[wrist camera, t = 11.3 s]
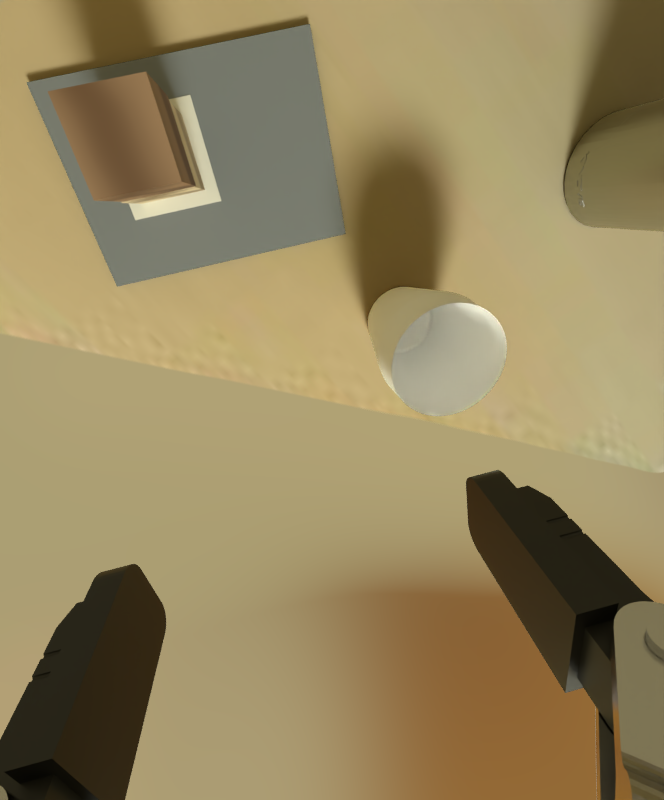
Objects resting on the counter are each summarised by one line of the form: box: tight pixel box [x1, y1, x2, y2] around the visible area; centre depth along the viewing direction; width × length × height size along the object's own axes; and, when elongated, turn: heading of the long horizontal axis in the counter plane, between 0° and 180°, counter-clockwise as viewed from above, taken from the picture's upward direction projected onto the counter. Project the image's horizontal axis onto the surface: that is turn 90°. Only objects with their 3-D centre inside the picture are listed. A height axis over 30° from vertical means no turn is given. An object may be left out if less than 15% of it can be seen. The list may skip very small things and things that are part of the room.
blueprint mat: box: [27, 24, 346, 286], centre depth 31 cm, size 20×14×1 cm
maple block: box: [121, 102, 205, 204], centre depth 28 cm, size 5×5×5 cm
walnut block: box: [48, 72, 196, 202], centre depth 23 cm, size 5×5×5 cm
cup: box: [368, 287, 507, 416], centre depth 34 cm, size 9×9×12 cm
